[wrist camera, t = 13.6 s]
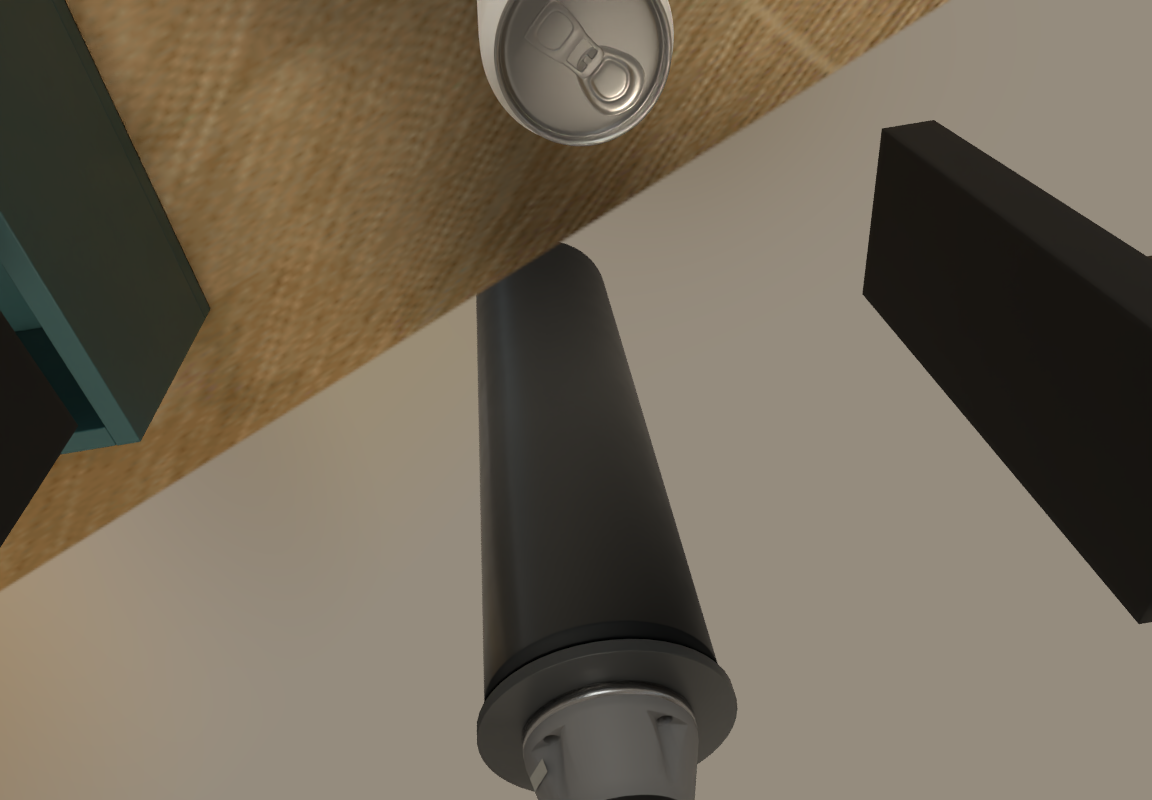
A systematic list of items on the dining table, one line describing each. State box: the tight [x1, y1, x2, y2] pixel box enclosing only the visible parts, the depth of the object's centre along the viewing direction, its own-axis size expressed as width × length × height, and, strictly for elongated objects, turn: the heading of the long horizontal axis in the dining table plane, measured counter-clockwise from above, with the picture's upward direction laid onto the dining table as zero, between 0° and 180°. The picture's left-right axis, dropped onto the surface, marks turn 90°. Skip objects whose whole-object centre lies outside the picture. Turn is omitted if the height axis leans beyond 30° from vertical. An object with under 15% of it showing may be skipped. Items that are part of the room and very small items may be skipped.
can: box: [477, 0, 674, 146], centre depth 29 cm, size 6×6×12 cm
